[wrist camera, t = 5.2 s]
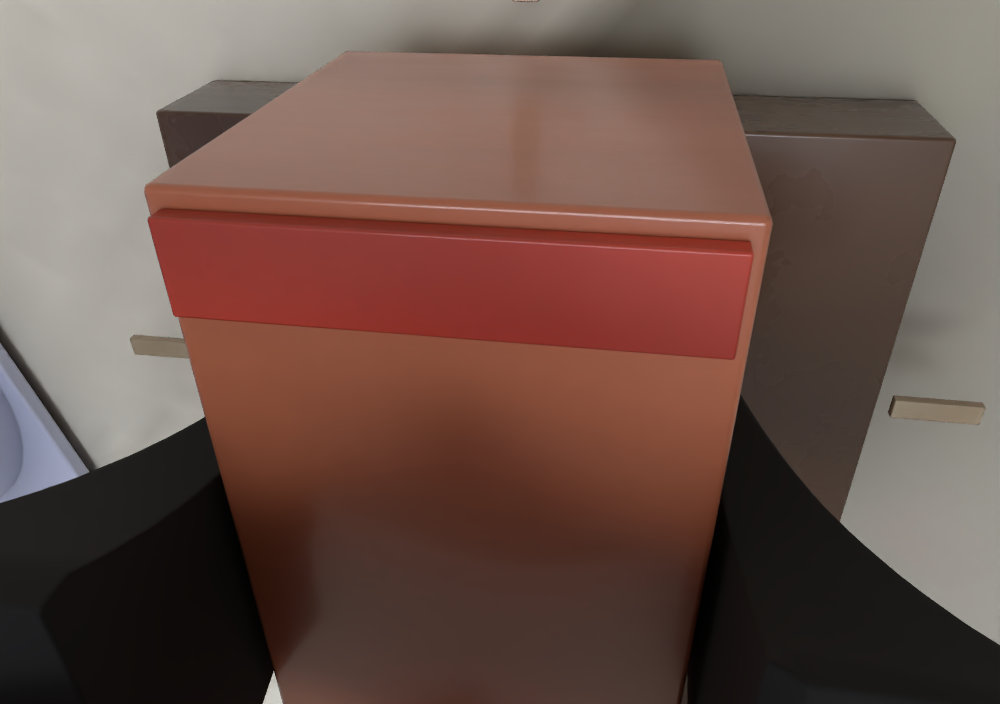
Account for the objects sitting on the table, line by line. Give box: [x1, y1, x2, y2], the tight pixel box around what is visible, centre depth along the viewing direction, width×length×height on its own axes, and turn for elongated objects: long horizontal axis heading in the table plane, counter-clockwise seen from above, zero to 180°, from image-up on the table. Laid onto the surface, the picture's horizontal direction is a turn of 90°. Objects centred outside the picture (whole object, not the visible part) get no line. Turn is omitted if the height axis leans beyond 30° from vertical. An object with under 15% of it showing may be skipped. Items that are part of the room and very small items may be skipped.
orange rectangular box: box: [144, 51, 773, 704], centre depth 12 cm, size 11×5×6 cm, turn 0°
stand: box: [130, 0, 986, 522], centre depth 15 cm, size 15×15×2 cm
